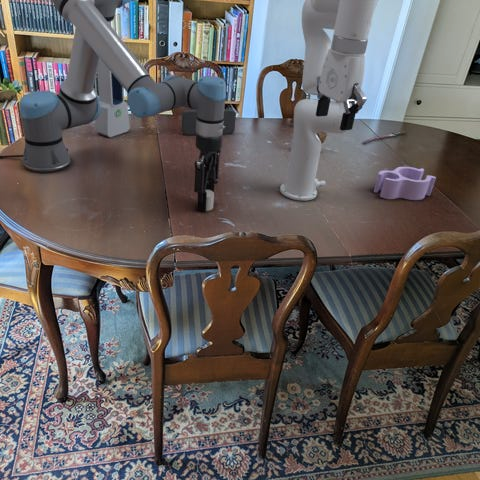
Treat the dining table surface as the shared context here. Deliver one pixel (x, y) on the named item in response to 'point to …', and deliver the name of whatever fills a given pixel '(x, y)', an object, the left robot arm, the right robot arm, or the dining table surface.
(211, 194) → the grey solid cylinder
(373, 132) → the dining table surface
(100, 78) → the electronic device
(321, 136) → the lion figurine
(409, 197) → the clip
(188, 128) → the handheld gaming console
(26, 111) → the left robot arm
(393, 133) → the sword
